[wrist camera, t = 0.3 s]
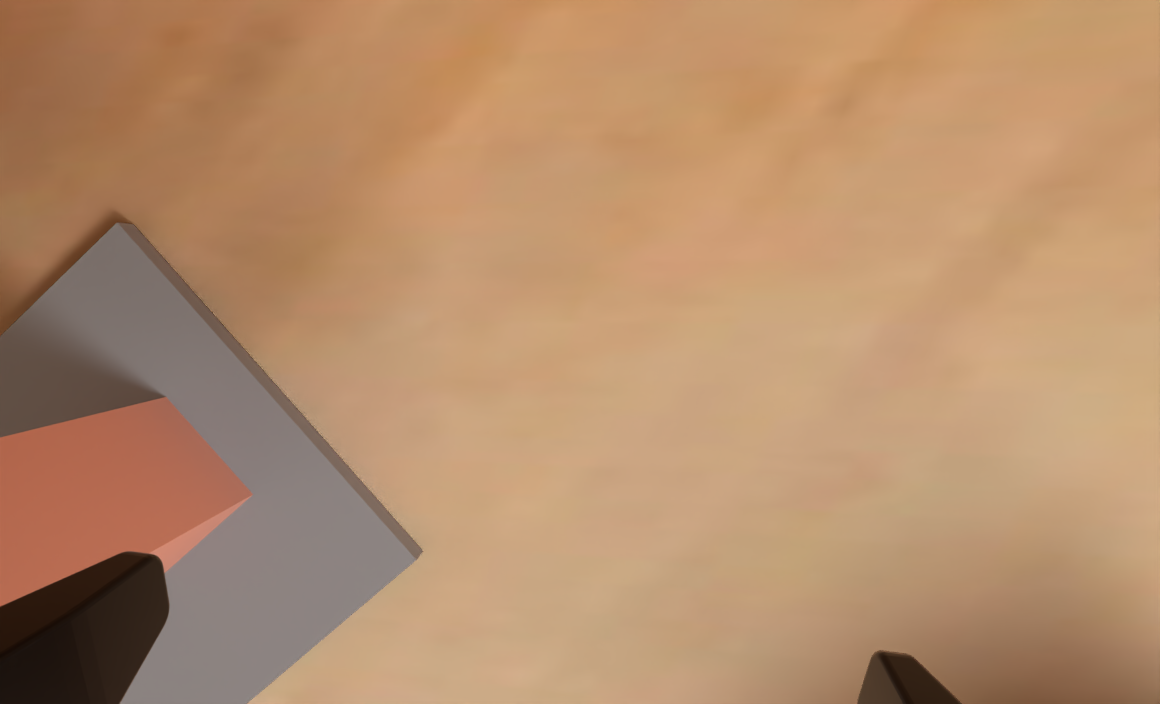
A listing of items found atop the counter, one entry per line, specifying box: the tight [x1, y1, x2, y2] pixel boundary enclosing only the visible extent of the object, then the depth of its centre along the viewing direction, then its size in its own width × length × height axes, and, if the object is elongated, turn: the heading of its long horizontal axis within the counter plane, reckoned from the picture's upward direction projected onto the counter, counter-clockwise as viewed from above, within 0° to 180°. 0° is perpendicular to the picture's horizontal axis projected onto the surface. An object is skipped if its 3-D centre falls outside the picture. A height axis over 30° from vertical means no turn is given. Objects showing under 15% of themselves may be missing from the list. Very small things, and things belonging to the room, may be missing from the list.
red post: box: [0, 397, 253, 606], centre depth 18 cm, size 4×4×12 cm
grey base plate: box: [0, 222, 423, 704], centre depth 25 cm, size 20×15×2 cm
